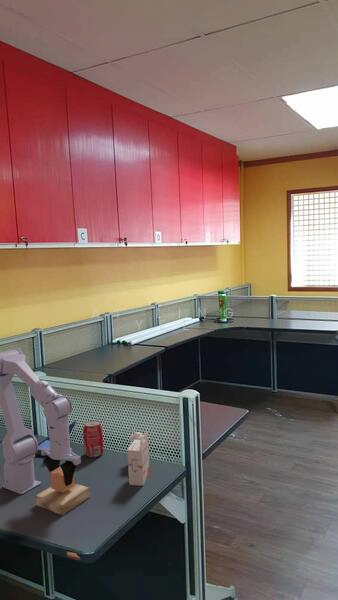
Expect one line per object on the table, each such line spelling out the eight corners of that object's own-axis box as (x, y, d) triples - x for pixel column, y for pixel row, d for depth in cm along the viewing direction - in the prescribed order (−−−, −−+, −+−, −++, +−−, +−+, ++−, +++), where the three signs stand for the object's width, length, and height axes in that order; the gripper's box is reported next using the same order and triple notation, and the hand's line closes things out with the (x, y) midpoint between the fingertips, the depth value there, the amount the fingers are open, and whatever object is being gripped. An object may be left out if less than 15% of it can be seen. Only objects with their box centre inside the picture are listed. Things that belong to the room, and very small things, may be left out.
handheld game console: (48, 440, 185) (47, 417, 184) (78, 442, 182) (77, 419, 181) (26, 456, 170) (24, 432, 169) (58, 459, 167) (57, 435, 166)
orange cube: (50, 488, 137) (49, 472, 136) (63, 481, 141) (62, 465, 140) (62, 492, 134) (61, 476, 133) (75, 485, 138) (74, 469, 138)
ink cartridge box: (135, 472, 154) (133, 430, 153) (149, 473, 153) (148, 431, 152) (128, 485, 146) (126, 440, 144) (143, 486, 145) (141, 441, 143)
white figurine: (128, 460, 164) (126, 427, 163) (137, 456, 166) (136, 424, 165) (141, 468, 156) (140, 435, 155) (151, 465, 159) (149, 432, 158)
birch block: (36, 506, 136) (35, 495, 136) (63, 489, 145) (63, 479, 145) (63, 516, 130) (62, 505, 130) (89, 498, 139) (89, 487, 139)
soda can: (94, 449, 174) (92, 418, 173) (107, 453, 170) (106, 421, 169) (80, 455, 169) (78, 424, 167) (94, 460, 164) (92, 428, 163)
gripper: (87, 438, 135) (89, 482, 136) (52, 429, 143) (55, 471, 144) (69, 447, 129) (72, 493, 130) (34, 437, 137) (37, 480, 138)
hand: (62, 482), depth 137 cm, fingers closed on orange cube, 5 cm apart
